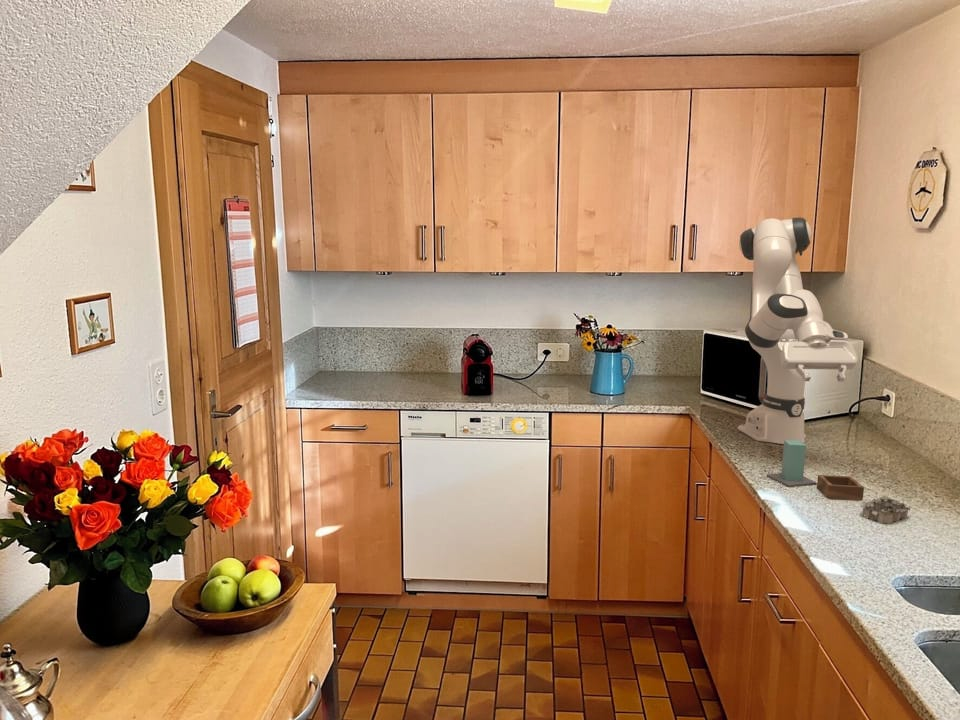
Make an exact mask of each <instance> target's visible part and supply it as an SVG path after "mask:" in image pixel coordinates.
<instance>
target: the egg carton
mask: <svg viewBox="0 0 960 720" xmlns="http://www.w3.org/2000/svg"><path fill="white" fill-rule="evenodd" d="M860 507H861V508H862V514H863V515H865V516H863V515H862V516H863V517H864V518H865V517H866V518H865V519H867V518H873V519H872V520H875V519H877V520H878V521H877V520H876V521H877V522H879V524H881V523H887V524H886V525H892V524H893V522H900V519H903V518H904V520H907V519H908V513H909V511H911V509H912V507H911V506H906V505H905V503H904V502H900V501H899V500H896V499H894V498H892V499H891V498H890V497H888V496H887V495H883V496H881V497H879V498H873V499H872V500H868V501H861V505H860ZM882 509H883V510H882Z"/></svg>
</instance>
